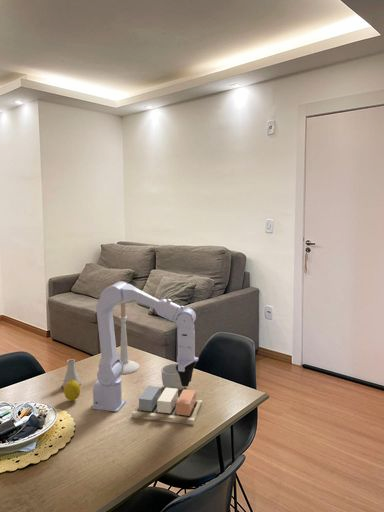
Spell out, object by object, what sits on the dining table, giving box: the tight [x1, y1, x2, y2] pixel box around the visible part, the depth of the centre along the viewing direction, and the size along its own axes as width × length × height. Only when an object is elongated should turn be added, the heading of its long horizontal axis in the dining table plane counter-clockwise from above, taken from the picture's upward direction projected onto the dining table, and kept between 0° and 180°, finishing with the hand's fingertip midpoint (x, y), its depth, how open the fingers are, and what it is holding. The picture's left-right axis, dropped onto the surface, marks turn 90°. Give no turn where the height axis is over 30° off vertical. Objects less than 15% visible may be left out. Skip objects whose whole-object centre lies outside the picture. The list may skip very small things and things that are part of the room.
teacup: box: [160, 363, 187, 392], centre depth 159 cm, size 14×11×8 cm
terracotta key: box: [175, 388, 197, 417], centre depth 139 cm, size 4×10×4 cm, turn 167°
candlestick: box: [118, 300, 140, 375], centre depth 175 cm, size 13×13×30 cm
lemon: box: [64, 380, 81, 402], centre depth 147 cm, size 6×6×8 cm
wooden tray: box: [131, 397, 203, 426], centre depth 141 cm, size 21×14×2 cm, turn 77°
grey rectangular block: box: [138, 385, 161, 412], centre depth 142 cm, size 4×10×4 cm, turn 167°
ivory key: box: [156, 387, 179, 414], centre depth 140 cm, size 4×10×4 cm, turn 167°
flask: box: [62, 358, 82, 389], centre depth 160 cm, size 7×7×10 cm
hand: (186, 383), depth 138 cm, fingers open, 3 cm apart
